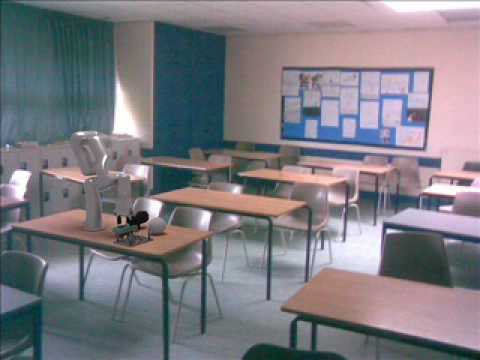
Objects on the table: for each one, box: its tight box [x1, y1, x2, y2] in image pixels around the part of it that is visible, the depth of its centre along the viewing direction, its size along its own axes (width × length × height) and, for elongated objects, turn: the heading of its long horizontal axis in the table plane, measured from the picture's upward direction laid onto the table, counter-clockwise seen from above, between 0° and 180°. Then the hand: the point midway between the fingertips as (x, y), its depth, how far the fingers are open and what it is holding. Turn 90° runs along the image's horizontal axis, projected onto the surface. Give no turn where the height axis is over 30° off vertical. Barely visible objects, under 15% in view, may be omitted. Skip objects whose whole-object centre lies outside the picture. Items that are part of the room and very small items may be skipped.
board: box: [111, 222, 136, 234], centre depth 312 cm, size 12×7×4 cm, turn 147°
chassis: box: [113, 225, 154, 248], centre depth 301 cm, size 18×13×7 cm
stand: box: [115, 230, 134, 239], centre depth 313 cm, size 10×4×3 cm, turn 147°
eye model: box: [148, 216, 167, 235], centre depth 318 cm, size 10×10×10 cm
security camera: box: [125, 210, 150, 231], centre depth 328 cm, size 7×18×10 cm, turn 158°
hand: (125, 225), depth 311 cm, fingers open, 9 cm apart
